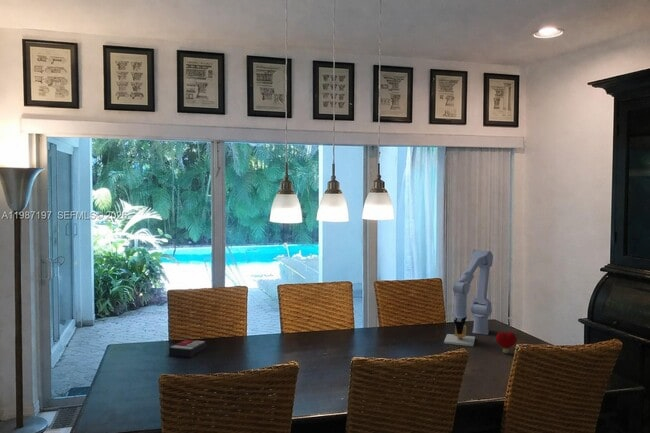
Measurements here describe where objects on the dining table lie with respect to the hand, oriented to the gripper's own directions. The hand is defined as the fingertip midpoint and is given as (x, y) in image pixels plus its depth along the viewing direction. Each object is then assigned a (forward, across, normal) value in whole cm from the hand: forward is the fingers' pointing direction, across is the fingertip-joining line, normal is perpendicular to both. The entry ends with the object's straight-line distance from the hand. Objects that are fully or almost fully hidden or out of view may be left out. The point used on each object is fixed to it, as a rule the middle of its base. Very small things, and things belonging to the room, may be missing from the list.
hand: (460, 332), depth 268 cm
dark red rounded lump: (+4, +13, +22) cm, 26 cm away
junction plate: (+4, 0, 0) cm, 4 cm away
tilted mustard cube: (+2, 0, 0) cm, 2 cm away
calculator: (+5, +62, -118) cm, 133 cm away
